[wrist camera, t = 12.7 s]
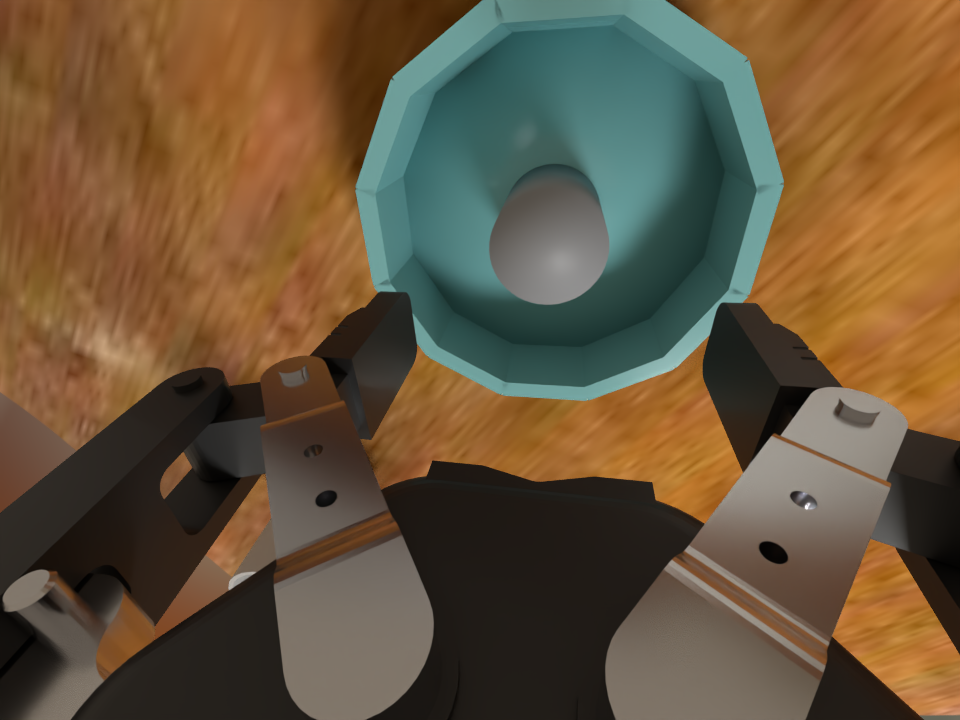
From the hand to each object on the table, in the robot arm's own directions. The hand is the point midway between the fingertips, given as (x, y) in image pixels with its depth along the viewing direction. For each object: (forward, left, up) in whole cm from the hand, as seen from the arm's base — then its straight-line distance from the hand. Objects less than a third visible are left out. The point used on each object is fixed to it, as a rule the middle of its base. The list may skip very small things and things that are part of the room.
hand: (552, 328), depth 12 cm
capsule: (0, 0, -11) cm, 11 cm away
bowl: (0, 0, -11) cm, 11 cm away
